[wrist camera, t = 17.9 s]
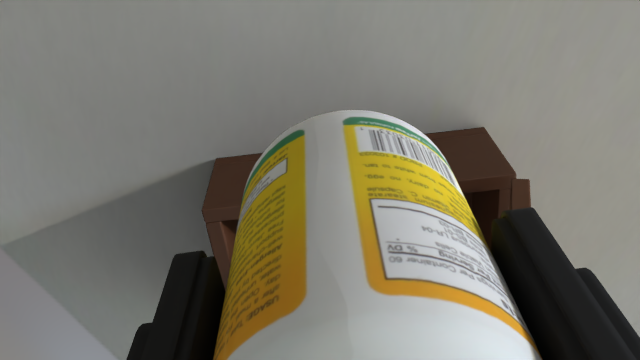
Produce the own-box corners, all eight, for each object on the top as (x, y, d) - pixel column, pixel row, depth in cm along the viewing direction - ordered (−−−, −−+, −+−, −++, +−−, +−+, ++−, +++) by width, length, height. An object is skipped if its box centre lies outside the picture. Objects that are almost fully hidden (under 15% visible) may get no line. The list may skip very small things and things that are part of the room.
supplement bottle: (436, 78, 13) (710, 504, 4) (462, 258, 15) (660, 737, 7) (211, 133, 13) (60, 612, 5) (274, 298, 16) (248, 790, 7)
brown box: (253, 315, 37) (246, 380, 32) (215, 158, 31) (201, 209, 26) (477, 291, 36) (503, 353, 32) (484, 126, 30) (517, 173, 26)
